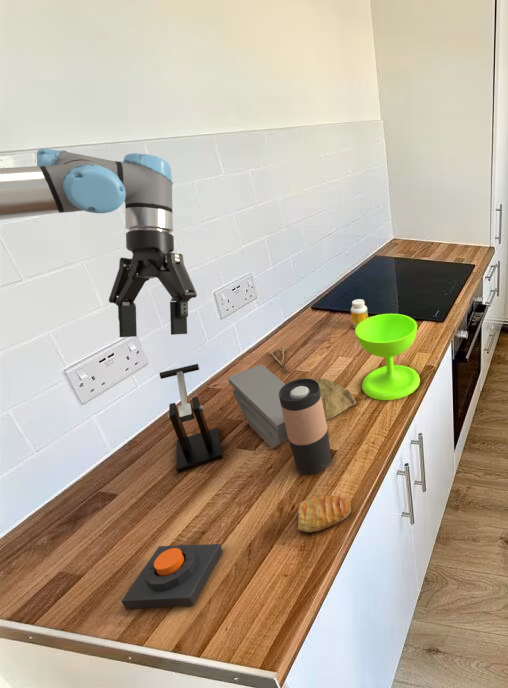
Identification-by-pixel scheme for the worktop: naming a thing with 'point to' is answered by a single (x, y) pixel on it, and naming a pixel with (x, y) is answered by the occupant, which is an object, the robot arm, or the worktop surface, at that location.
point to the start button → (169, 562)
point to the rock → (334, 398)
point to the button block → (174, 579)
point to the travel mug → (306, 425)
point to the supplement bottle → (358, 312)
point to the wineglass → (388, 355)
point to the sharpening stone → (261, 403)
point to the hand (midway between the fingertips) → (153, 335)
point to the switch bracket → (195, 440)
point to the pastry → (322, 512)
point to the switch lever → (182, 390)
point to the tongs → (278, 360)
